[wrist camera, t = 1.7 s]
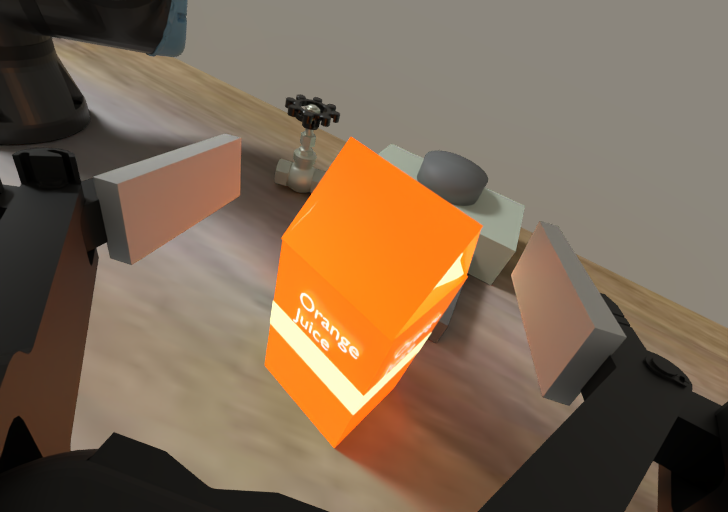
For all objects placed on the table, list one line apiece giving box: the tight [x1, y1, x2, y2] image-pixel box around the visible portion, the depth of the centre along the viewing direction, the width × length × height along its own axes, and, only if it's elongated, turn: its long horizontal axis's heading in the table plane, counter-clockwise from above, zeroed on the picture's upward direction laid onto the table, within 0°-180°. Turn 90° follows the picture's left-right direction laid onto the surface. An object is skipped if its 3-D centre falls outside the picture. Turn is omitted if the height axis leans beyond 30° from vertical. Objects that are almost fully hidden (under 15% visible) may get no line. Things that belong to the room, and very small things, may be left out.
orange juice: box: [265, 137, 483, 448], centre depth 24 cm, size 8×9×20 cm
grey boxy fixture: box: [378, 144, 525, 343], centre depth 44 cm, size 22×26×9 cm
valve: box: [274, 95, 340, 193], centre depth 46 cm, size 7×7×12 cm
